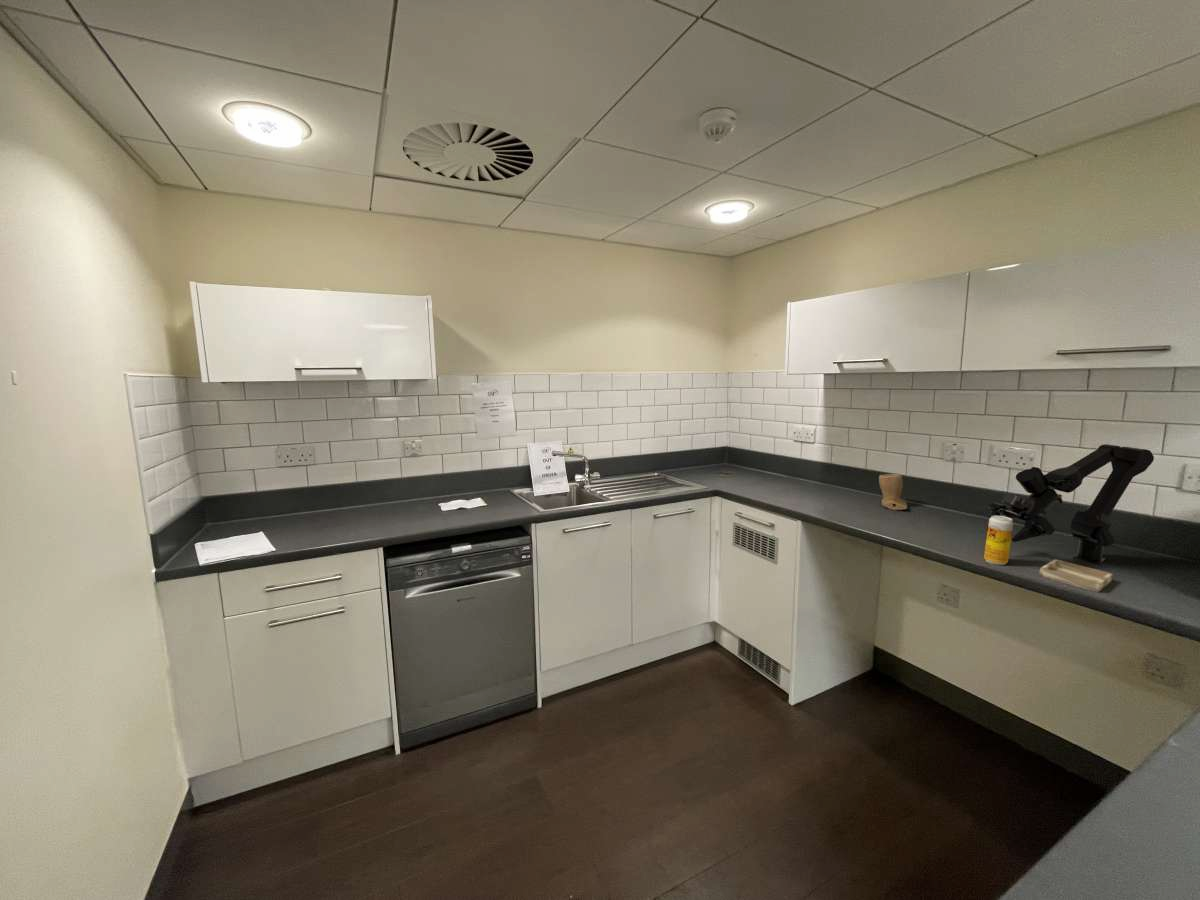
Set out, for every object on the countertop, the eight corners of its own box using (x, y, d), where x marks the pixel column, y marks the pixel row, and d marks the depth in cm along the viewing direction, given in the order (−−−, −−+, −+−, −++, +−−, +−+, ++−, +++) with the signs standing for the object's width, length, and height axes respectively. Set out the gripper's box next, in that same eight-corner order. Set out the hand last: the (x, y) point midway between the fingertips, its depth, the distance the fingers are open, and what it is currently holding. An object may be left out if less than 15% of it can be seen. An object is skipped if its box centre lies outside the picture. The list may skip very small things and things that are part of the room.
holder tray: (1053, 566, 154) (1055, 559, 153) (1111, 581, 143) (1113, 573, 143) (1038, 575, 147) (1040, 568, 147) (1098, 592, 136) (1099, 584, 136)
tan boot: (876, 500, 231) (879, 470, 228) (905, 504, 225) (909, 472, 222) (875, 508, 218) (879, 476, 216) (906, 512, 212) (910, 479, 210)
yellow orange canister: (979, 559, 159) (985, 516, 157) (991, 557, 162) (997, 514, 159) (999, 566, 154) (1006, 521, 151) (1011, 564, 156) (1018, 519, 153)
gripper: (997, 479, 163) (962, 511, 164) (1052, 493, 145) (1012, 529, 146) (1015, 501, 165) (980, 532, 166) (1071, 517, 147) (1032, 553, 148)
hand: (999, 536), depth 156 cm, fingers open, 9 cm apart
